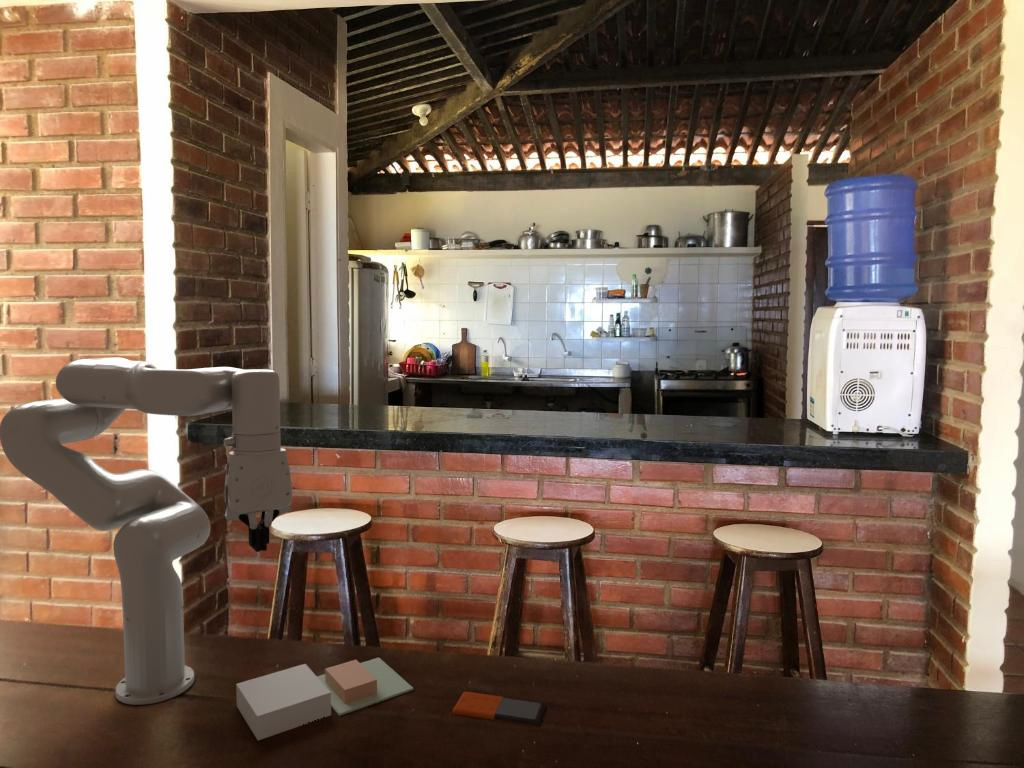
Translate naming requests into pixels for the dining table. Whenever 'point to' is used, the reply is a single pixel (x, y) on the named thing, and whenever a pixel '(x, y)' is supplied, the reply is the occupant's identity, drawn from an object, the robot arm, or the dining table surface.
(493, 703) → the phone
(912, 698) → the dining table surface
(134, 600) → the robot arm
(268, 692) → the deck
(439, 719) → the dining table surface
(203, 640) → the dining table surface
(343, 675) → the salmon rectangular block
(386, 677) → the mat
